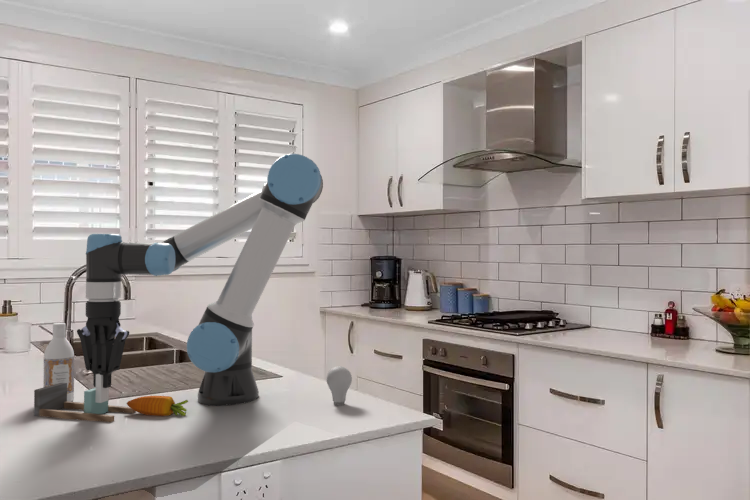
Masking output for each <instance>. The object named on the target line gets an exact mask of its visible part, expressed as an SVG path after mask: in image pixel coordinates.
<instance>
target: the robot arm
mask: <svg viewBox="0 0 750 500" xmlns="http://www.w3.org/2000/svg"><path fill="white" fill-rule="evenodd" d="M266 177H267V181H266V182H265V183H264V184H263V186H262V188H261V189H260V190H259V191H257V192H255V193H253V194H251V195H248V196H247V197H246V198H243V199H242V200H240V201H238V202H236V203H234V204H232V205H231V206H228V207H227V208H224V209H223V210H221V211H219V212H217V213H215V214H213V215H210V217H208V218H207V217H206V219H204V220H201V221H200V222H198V223H196V224H194V225H192V226H190V227H188V228H186V229H184V230H182V231H181V232H179V233H177V234H175V235H173V236H171V237H169V238H168V239H165V240H164V241H161V242H124V241H123V239H122V235H121V234H119V233H118V234H115V233H91V234H90V235H87V241H86V251H85V260H86V261H85V262H86V263H85V264H86V265H85V266H86V267H85V270H86V271H85V273H86V274H85V275H86V276H85V277H86V278H85V299H87V301H86V302H85V316H86V318H87V320H86V321H85V326H84V327H82V328H78V329H77V330H76V333H77V335H78V338H79V339H80V346H81V349H82V354H83V360H84V365H85V366H84V367H85V369H86V371H90V372H92V374H93V381H92V382H93V383H92V384H93V388H96V395H95V402H96V403H102V402H105V401H108V402H109V399H110V398H109V397H110V388H112V387H111V386H112V374H113V373H114V372H116V371H119V370H120V367H121V364H122V359H123V358H122V357H123V354H124V351H125V350H124V349H125V345H126V340H127V339H128V337H129V335H130V331H129V330H124V328H123V327H121V322H120V319H119V318H120V317H121V312H122V311H121V310H122V307H121V306H122V303H121V301H120V300H119V299H121V294H122V291H121V289H122V275H124V276H125V275H127V276H128V275H136V276H154V277H155V276H156V277H157V276H168V275H172V273H174V272H175V271H177V270H179V269H180V268H181V267H182V266H184V265H186V264H187V263H189V262H190V261H193V260H194V259H197V258H198V257H200V256H203V255H205V254H206V253H208V252H211V250H214V249H216V248H218V247H219V246H221V245H223V244H225V243H227V242H229V241H231V240H233V239H235V238H236V237H239V236H241V235H243V234H244V233H247V232H248V231H250V233H249V235H248V237H247V239H246V241H245V243H244V245H243V246H242V249H241V251H240V253H239V255H238V257H237V259H236V261H235V264H234V265H233V267H232V270H231V272H230V274H229V276H228V277H227V280H226V283H225V284H224V285H223V289H222V291H221V293H219V294H220V295H219V297H218V299H217V301H214V302H211V303H209V304H208V305H207V307H206V308H205V310H204V312H203V314H202V316H201V319H200V320H199V323H198V325H196V326H195V327H194V328H193V329H192V331H191V332H190V334H189V335H188V337H187V341H186V352H187V356H188V359H189V360H190V361H191V363H192V364H193V365H194V367H196V368H198V369H199V370H200V371H203V372H204V373H203V375H202V376H203V377H202V379H201V384H200V386H199V389H198V392H197V402H198V403H199V404H201V405H205V406H215V407H221V406H222V407H224V406H225V407H226V406H235V405H241V404H242V405H243V404H246V403H250V402H253V401H255V400H257V399H258V398H259V392H260V391H259V387H258V385H257V381H256V379H255V375H254V372H253V366H252V365H253V362H252V361H253V328H254V326H255V324H254V321H253V313H254V311H255V309H256V307H257V305H258V303H259V301H260V299H261V296H262V295H263V293H264V291H265V288H266V287H267V284H268V283H269V280H270V278H271V276H272V274H273V272H274V270H275V268H276V265H277V264H278V262H279V259H280V257H281V255H282V253H283V251H284V249H285V247H286V246H287V242H288V241H289V238H290V236H291V234H292V232H293V230H294V228H295V226H296V225H297V224H300V223H303V222H305V220H306V218H307V216H308V214H309V212H310V211H311V208H312V206H313V204H314V203H316V202H317V200H319V198H320V196H321V195H322V193H323V188H324V181H323V177H322V174H321V171H320V168H319V167H318V165H317V164H316V163H315V162H314V160H312V159H311V158H309V157H307V156H305V155H303V154H299V153H288V154H285V155H282V156H280V157H279V158H277V159H276V160H275V161H274V162H273V163H272V164H271V166H270V168H269V170H268V174H267V176H266Z"/></svg>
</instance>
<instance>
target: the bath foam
mask: <svg viewBox="0 0 750 500" xmlns="http://www.w3.org/2000/svg"><path fill="white" fill-rule="evenodd" d="M66 326H67V325H66V323H65V322H54V323H52V338H51V339H50V341H49V343H48V344H47V345H46V348H45V349H44V353H43V387H47V386H51V385H55V384H59V383H67V401H69V402H74V400H75V353H74V352H75V351H74V349H73V346H72V345H71V343H70V341H69V340H68V339H67V337H66V334H67V333H66V330H67V328H66ZM43 387H42V388H43Z"/></svg>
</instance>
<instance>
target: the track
mask: <svg viewBox="0 0 750 500" xmlns="http://www.w3.org/2000/svg"><path fill="white" fill-rule="evenodd" d="M33 393H34V397H33V398H34V399H33V400H34V402H33V403H34V404H33V407H34V408H33V409H34V410H33V412H34V413H33V415H34V417H44V418H45V417H46V418H47V417H48V418H52V419H53V418H55V419H56V418H57V419H65V420H75V419H78V420H79V421H87V422H88V421H89V422H91V421H92V422H103V423H104V422H105V423H113V422H115V415H112V414H93V413H84V412H81V411H71V410H79V409H82V411H84V402H80V401H72V402H69V401H67V383H59V384H55V385H51V386H47V387H40V388H37V389H34V390H33ZM63 409H67V410H63ZM108 411H109V412H110V413H111V412H113V413H124V414H125V413H126V414H134V413H137V412H136V411H135V410H133V409H131V408H130V407H129V406H123V405H122V406H120V405H111V404H108ZM109 412H108V413H109Z"/></svg>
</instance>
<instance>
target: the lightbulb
mask: <svg viewBox="0 0 750 500" xmlns="http://www.w3.org/2000/svg"><path fill="white" fill-rule="evenodd" d="M352 382H353V377H352V373H351V372H350V370H349V369H348V368H347V367H344V366H340V365H338V366H334V367H331V369H330V370H329V371H328V373H327V375H326V384H327V386H328V388H329V390H330V392H331V395H332V397H331V398H332V401H333V406H334V407H335V406H337V407H341V406H344V405H345V402H346V400H347V393H348V390H349V388H350V387H351V385H352Z"/></svg>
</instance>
